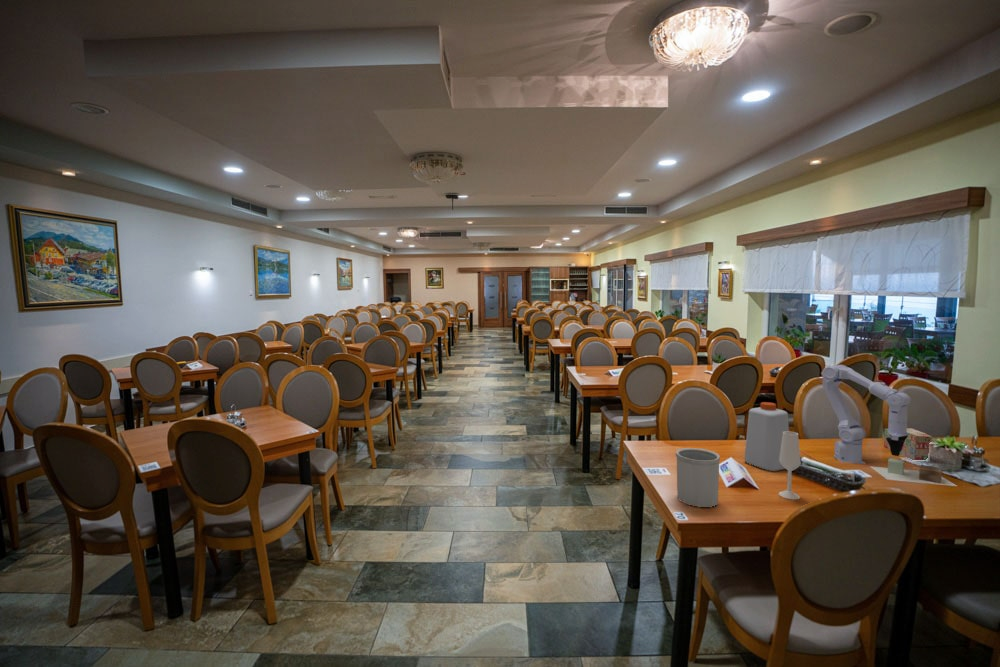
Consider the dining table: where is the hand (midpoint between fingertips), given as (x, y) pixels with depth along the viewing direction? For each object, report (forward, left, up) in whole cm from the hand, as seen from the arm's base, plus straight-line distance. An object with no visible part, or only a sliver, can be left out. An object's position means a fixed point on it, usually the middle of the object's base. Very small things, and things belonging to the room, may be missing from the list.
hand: (896, 453), depth 180 cm
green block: (0, 0, -8) cm, 8 cm away
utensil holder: (-81, -51, -9) cm, 96 cm away
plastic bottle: (-48, -4, -9) cm, 49 cm away
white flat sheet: (+4, -2, -9) cm, 10 cm away
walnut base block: (+9, -5, -8) cm, 13 cm away
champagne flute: (-48, -37, -9) cm, 61 cm away
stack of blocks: (+17, +30, -9) cm, 36 cm away
